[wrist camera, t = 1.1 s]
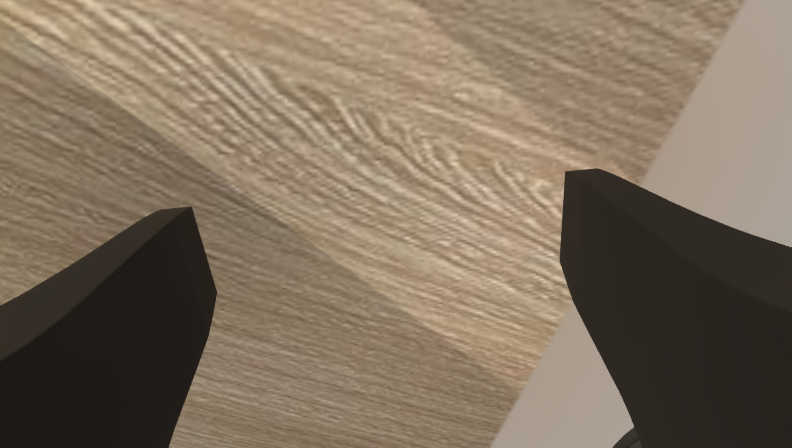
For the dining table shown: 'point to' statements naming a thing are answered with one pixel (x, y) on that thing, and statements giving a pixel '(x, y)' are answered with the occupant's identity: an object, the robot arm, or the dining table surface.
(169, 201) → the dining table surface
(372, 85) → the dining table surface
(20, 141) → the dining table surface
